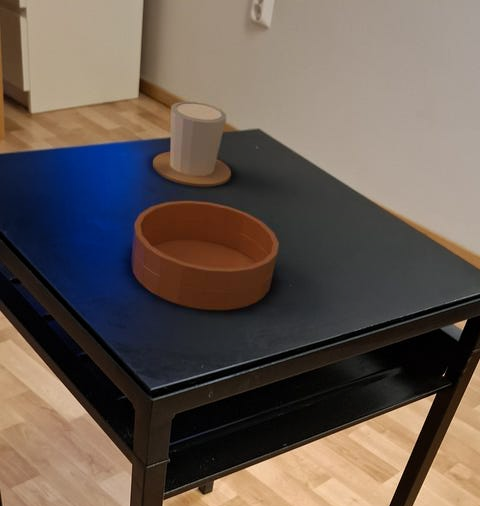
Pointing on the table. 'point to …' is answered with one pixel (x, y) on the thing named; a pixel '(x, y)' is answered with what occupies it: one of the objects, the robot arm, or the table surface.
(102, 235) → the table surface
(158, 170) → the coaster
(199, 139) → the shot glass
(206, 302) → the pan
